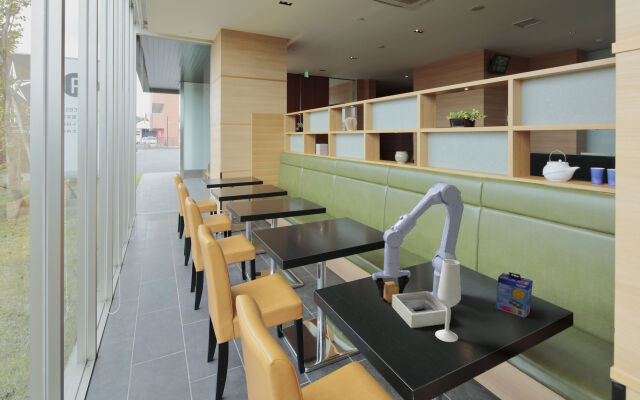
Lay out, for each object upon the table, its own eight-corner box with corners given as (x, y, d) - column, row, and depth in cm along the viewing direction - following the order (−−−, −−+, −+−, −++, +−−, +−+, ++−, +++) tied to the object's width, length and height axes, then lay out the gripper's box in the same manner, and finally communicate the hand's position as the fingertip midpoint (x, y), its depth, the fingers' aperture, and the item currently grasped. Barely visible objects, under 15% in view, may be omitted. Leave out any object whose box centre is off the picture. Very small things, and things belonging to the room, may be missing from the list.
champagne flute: (450, 328, 111) (455, 257, 107) (462, 340, 104) (468, 265, 100) (431, 330, 110) (435, 258, 106) (441, 343, 103) (446, 266, 99)
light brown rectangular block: (392, 295, 134) (393, 281, 133) (398, 301, 130) (399, 286, 129) (383, 296, 134) (383, 282, 133) (388, 302, 129) (388, 287, 128)
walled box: (426, 302, 129) (427, 291, 128) (450, 322, 114) (450, 310, 114) (391, 306, 126) (392, 294, 125) (411, 328, 112) (411, 315, 111)
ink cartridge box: (494, 308, 124) (497, 270, 121) (499, 303, 128) (503, 266, 125) (525, 318, 117) (529, 278, 114) (529, 312, 121) (534, 273, 118)
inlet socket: (425, 306, 126) (425, 298, 126) (440, 319, 116) (441, 311, 116) (399, 309, 124) (400, 301, 123) (413, 323, 114) (413, 314, 114)
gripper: (405, 256, 134) (403, 289, 137) (369, 259, 131) (369, 292, 134) (413, 262, 128) (412, 297, 130) (376, 265, 125) (375, 301, 127)
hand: (390, 295), depth 131 cm, fingers open, 7 cm apart
